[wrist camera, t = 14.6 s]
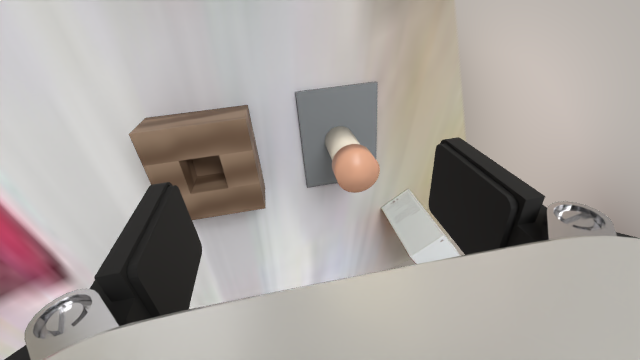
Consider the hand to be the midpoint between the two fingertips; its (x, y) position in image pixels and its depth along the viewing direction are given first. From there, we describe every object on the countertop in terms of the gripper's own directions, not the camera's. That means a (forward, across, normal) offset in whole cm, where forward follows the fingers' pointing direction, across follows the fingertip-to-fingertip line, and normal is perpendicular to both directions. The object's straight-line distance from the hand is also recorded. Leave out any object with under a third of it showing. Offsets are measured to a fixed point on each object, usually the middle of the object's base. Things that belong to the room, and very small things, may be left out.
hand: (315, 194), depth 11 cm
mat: (+34, -8, +13) cm, 37 cm away
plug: (+33, -8, +13) cm, 37 cm away
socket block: (+34, +12, +13) cm, 38 cm away
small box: (+34, -20, +30) cm, 50 cm away
